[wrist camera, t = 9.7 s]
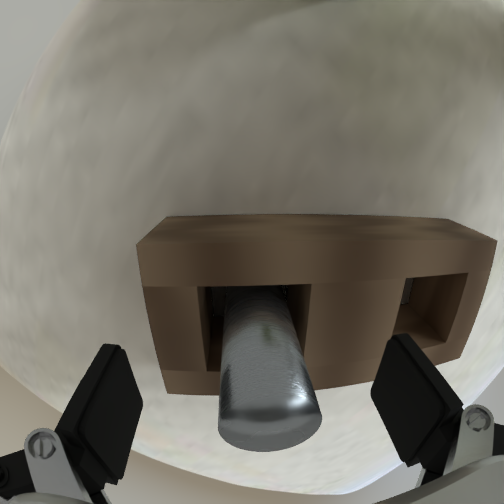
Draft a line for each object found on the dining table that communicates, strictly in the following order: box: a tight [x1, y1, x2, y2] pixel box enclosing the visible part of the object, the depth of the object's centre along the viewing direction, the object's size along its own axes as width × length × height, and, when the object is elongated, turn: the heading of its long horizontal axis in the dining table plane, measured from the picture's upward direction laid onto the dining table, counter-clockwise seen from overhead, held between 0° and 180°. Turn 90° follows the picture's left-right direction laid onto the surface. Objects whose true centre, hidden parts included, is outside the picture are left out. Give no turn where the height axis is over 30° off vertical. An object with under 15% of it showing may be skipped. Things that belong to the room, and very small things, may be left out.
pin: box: [218, 285, 322, 452], centre depth 12 cm, size 3×3×10 cm
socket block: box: [136, 214, 497, 395], centre depth 14 cm, size 18×8×5 cm, turn 90°
